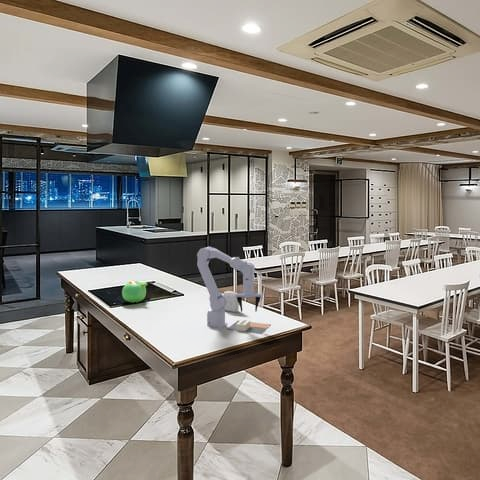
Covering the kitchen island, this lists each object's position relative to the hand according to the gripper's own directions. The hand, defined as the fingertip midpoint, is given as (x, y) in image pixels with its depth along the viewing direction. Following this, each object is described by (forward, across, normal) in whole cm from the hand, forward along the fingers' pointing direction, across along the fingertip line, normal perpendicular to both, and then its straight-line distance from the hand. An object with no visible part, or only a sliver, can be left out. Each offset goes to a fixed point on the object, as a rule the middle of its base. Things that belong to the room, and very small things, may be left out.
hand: (248, 311), depth 215 cm
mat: (+10, 0, +2) cm, 10 cm away
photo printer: (+10, -12, +35) cm, 38 cm away
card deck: (+9, -3, -1) cm, 10 cm away
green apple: (+8, -77, +53) cm, 94 cm away
